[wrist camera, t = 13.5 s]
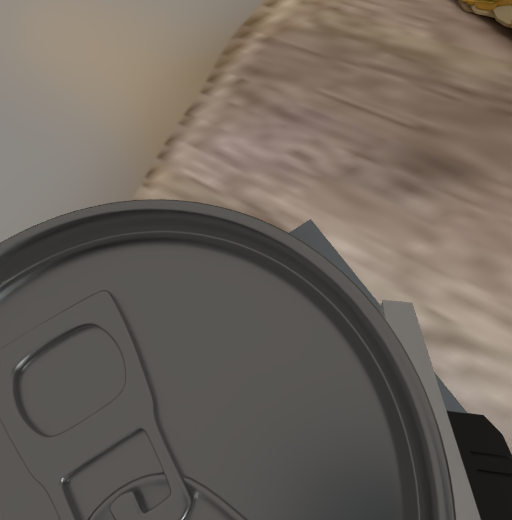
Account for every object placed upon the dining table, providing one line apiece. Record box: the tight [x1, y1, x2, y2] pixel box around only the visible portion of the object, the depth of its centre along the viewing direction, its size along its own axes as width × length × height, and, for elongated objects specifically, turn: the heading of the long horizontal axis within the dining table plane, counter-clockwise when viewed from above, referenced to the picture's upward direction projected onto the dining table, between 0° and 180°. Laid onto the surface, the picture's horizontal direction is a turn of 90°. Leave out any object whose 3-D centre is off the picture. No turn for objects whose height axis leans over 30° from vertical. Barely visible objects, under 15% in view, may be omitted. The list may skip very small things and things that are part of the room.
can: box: [0, 200, 456, 520], centre depth 9 cm, size 6×6×12 cm
